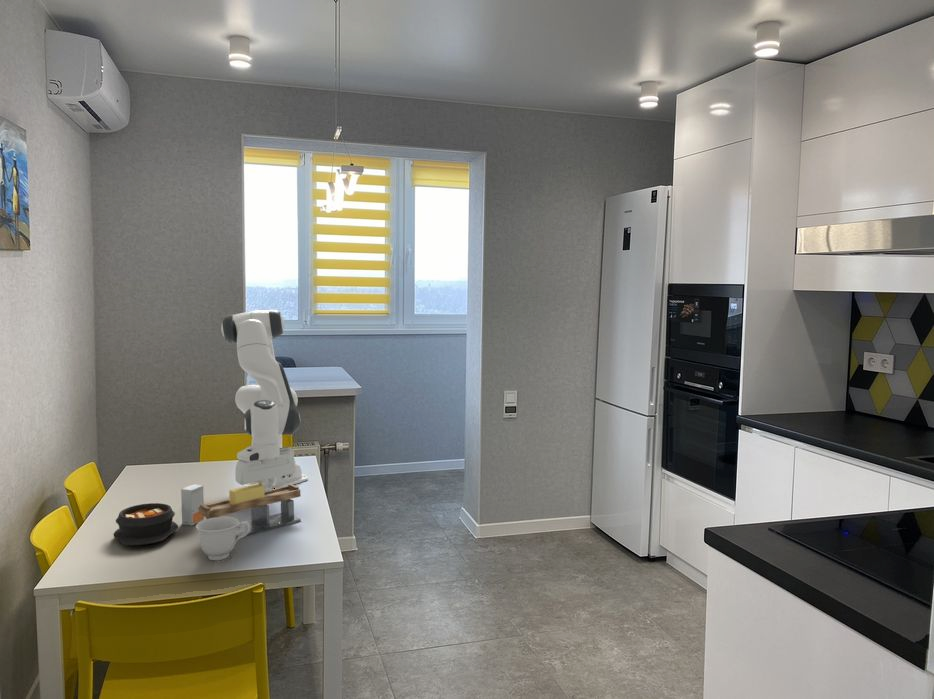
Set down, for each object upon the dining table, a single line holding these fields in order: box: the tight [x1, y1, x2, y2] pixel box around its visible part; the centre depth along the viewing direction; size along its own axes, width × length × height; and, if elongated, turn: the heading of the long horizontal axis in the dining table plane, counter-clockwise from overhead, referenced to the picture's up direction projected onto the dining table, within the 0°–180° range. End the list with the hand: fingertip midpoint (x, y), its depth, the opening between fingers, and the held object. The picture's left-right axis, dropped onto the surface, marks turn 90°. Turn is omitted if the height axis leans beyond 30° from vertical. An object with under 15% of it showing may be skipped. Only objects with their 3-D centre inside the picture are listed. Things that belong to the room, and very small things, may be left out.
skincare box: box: [180, 484, 205, 526], centre depth 237 cm, size 6×4×12 cm
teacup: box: [195, 516, 250, 561], centre depth 209 cm, size 12×15×10 cm
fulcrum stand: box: [205, 499, 302, 538], centre depth 232 cm, size 30×10×8 cm, turn 135°
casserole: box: [113, 502, 179, 546], centre depth 225 cm, size 25×19×8 cm
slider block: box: [228, 484, 265, 505], centre depth 230 cm, size 10×4×4 cm, turn 135°
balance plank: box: [198, 484, 302, 519], centre depth 231 cm, size 32×7×3 cm, turn 135°
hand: (266, 492), depth 235 cm, fingers closed
